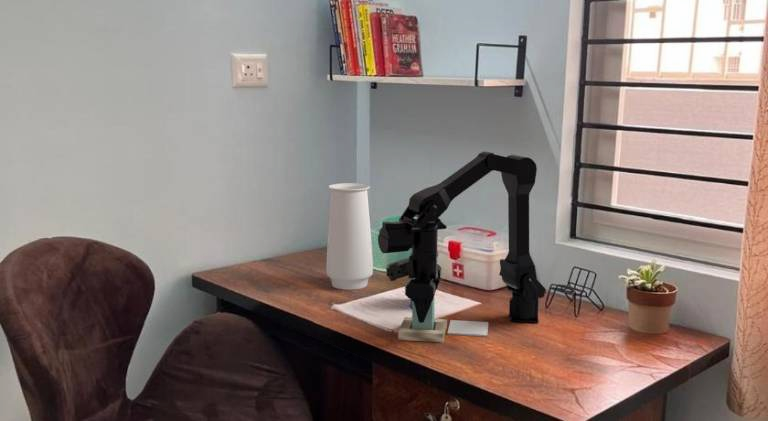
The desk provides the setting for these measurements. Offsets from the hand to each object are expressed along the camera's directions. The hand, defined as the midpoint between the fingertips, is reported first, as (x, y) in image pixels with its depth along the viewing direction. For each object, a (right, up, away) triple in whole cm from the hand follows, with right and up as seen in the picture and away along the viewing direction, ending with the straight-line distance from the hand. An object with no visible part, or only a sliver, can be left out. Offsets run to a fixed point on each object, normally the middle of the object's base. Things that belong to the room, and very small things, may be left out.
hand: (423, 315), depth 172 cm
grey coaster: (+11, -4, +4) cm, 12 cm away
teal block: (0, -4, +1) cm, 4 cm away
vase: (-19, +3, +40) cm, 44 cm away
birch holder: (0, -4, +1) cm, 4 cm away
